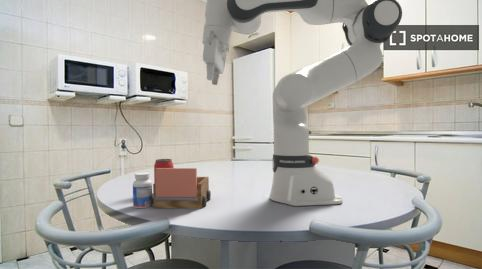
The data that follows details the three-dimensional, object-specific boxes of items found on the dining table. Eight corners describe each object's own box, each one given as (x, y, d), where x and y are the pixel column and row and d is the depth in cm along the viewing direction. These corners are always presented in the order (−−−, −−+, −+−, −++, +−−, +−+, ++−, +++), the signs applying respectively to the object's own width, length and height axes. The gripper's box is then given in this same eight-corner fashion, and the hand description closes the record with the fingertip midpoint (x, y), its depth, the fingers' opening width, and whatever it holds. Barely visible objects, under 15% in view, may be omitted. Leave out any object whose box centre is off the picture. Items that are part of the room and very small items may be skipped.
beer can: (176, 191, 101) (175, 158, 100) (169, 195, 94) (169, 160, 94) (158, 191, 101) (158, 158, 101) (151, 195, 95) (150, 160, 95)
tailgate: (198, 200, 79) (198, 168, 78) (197, 201, 77) (197, 168, 77) (155, 199, 79) (155, 168, 79) (154, 201, 78) (153, 168, 78)
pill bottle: (134, 204, 84) (134, 172, 84) (153, 203, 85) (152, 171, 85) (131, 209, 79) (131, 175, 78) (151, 207, 80) (151, 174, 80)
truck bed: (211, 197, 91) (211, 176, 91) (204, 208, 79) (204, 184, 79) (164, 197, 92) (164, 176, 92) (150, 208, 80) (150, 183, 80)
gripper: (222, 28, 78) (217, 77, 79) (229, 49, 99) (225, 87, 99) (200, 27, 79) (195, 75, 79) (212, 47, 99) (208, 86, 100)
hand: (212, 82), depth 89 cm, fingers open, 8 cm apart
